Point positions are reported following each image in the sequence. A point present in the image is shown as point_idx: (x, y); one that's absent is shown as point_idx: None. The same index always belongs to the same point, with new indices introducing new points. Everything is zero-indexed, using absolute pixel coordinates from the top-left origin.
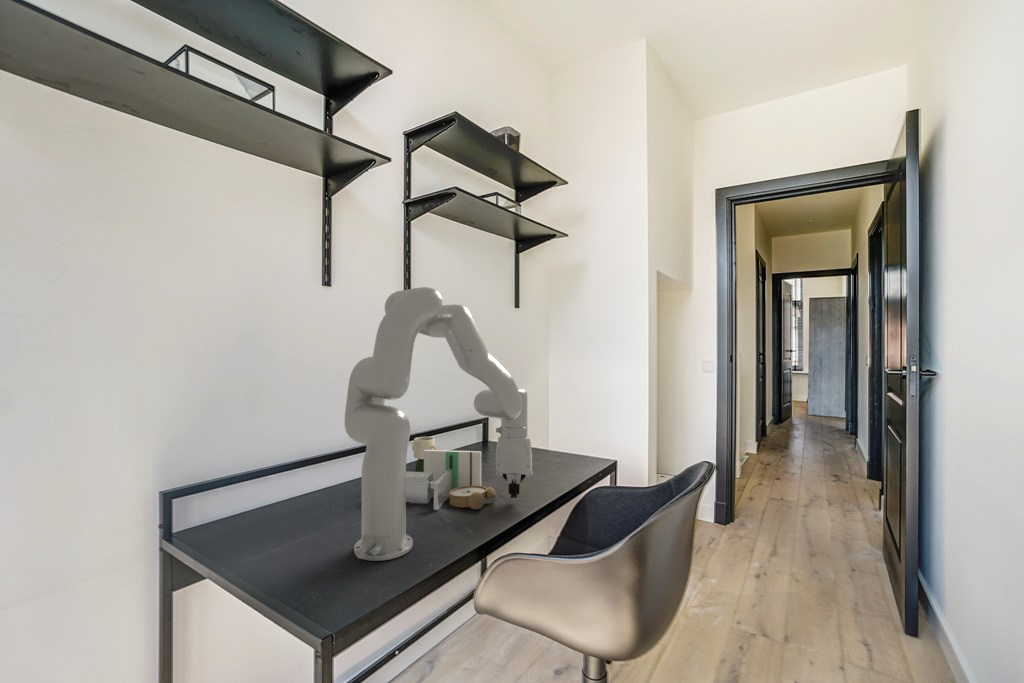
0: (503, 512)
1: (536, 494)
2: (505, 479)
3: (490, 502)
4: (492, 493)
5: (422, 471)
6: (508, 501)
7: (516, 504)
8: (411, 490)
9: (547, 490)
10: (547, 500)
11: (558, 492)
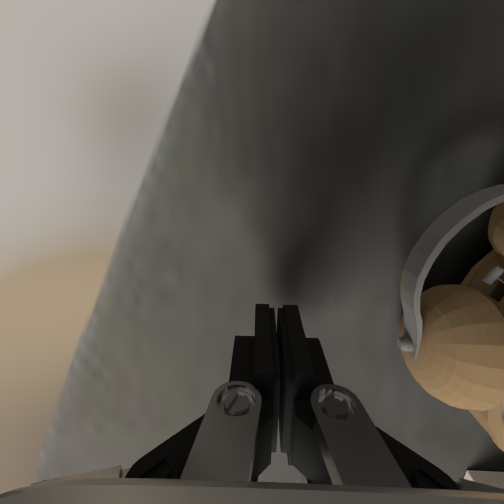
0: (334, 154)
1: None
2: (392, 438)
3: (456, 204)
4: (451, 325)
5: None
6: None
7: (257, 301)
8: None
9: None
10: (88, 371)
11: (56, 473)
